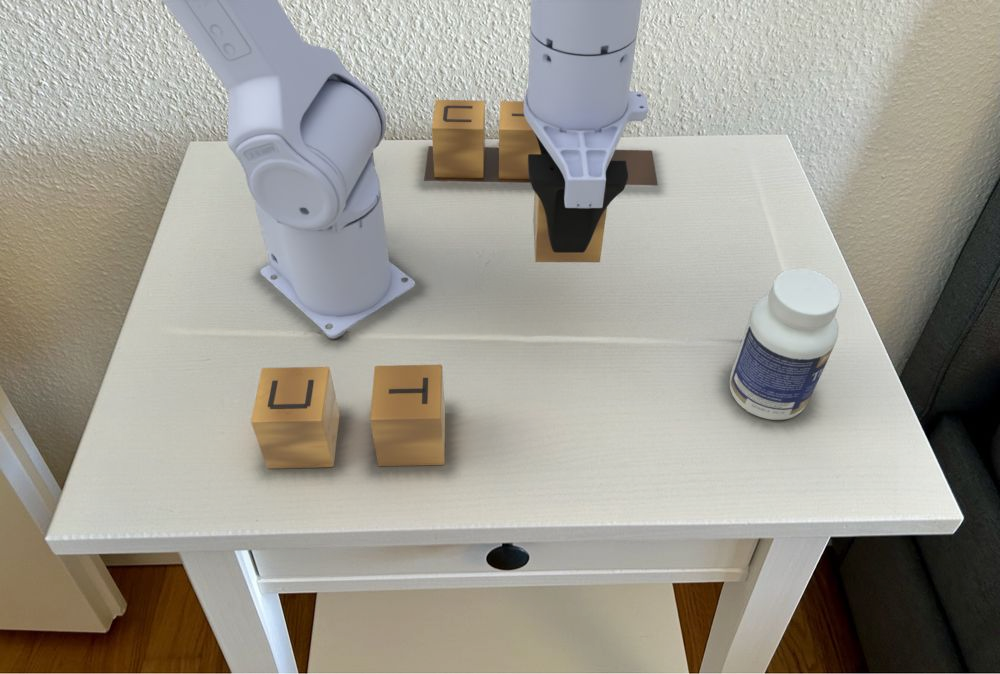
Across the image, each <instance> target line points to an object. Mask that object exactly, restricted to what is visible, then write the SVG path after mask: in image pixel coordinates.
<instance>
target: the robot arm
mask: <svg viewBox="0 0 1000 674" xmlns="http://www.w3.org/2000/svg"><path fill="white" fill-rule="evenodd" d="M162 2H163V3H164V4H165V6H166V7H167V8H168V10H169V11H170V13H171V14H172V16H173V17H174V18H175V20H176V21H177V23H178V24H179V25H180V27H181V28H182V30H183V31H184V33H185V34H186V35H187V37H188V38H189V39H190V40H191V42H192V43H193V45H194V46H195V48H196V49H197V51H198V52H199V53H200V55H201V56H202V57H203V59H204V60H205V62H206V63H207V64H208V65H209V68H211V70H212V71H213V72H214V74H215V75H216V77H217V78H218V79H219V81H220V82H221V84H222V85H223V87H224V88H225V89H226V91H227V96H228V97H227V99H228V105H227V106H228V108H227V109H228V110H227V111H228V112H227V145H228V148H229V149H230V151H231V152H232V153H233V155H234V156H235V157H236V160H238V162H239V163H240V165H241V167H242V169H243V171H244V172H243V173H244V174H245V178H246V184H247V188H248V190H249V192H250V194H251V197H253V199H254V208H255V213H256V216H257V220H258V224H259V228H260V231H261V235H262V240H263V243H264V247H265V251H266V254H267V258H268V262H269V264H268V265H266V266H264V267H262V268H261V269H260V275H262V276H263V277H264V278H265V279H266V280H267V281H268V282H270V283H271V284H272V285H273V287H275V288H276V289H277V290H278V291H279V292H280V293H281V294H282V295H284V296H285V297H286V298H287V299H288V300H289V301H290V302H292V304H294V305H295V306H296V308H298V309H299V310H300V311H301V312H302V313H304V314H305V315H306V317H308V318H309V319H310V320H311V321H312V322H314V324H316V325H317V326H318V327H319V328H320V329H321V330H320V331H321V332H322V333H323V334H324V335H325V336H326V337H327V338H329V339H337V338H340V337H341V336H342V335H344V334H346V333H347V332H348V330H347V329H349V328H350V327H352V326H353V325H355V324H357V323H358V322H360V321H361V320H363V319H365V318H366V317H368V316H370V315H371V314H372V313H373V314H374V312H376V311H378V310H379V309H381V308H382V307H384V306H385V305H387V304H388V303H390V302H392V301H394V300H395V299H397V298H398V297H400V296H401V295H403V294H405V293H406V292H408V291H410V290H411V289H413V288H414V287H415V286H416V281H415V280H414V279H412V278H411V277H410V276H409V275H407V274H406V273H405V272H404V271H403V270H401V269H400V268H399V267H398V266H396V265H395V264H394V263H392V262H391V261H390V258H389V247H388V241H387V240H388V239H387V232H386V223H385V217H384V207H383V198H382V191H381V183H380V179H379V178H380V177H379V175H378V172H377V170H376V165H375V158H374V157H375V156H374V151H375V149H376V148H378V147H379V145H380V144H381V142H382V141H383V139H384V137H385V135H386V132H387V131H386V130H387V116H386V112H385V110H384V107H383V105H382V103H381V101H380V100H379V98H378V97H377V95H375V93H374V92H373V90H371V89H370V88H369V87H368V86H366V85H365V84H364V83H363V82H361V81H360V80H358V79H357V78H356V77H355V76H354V75H353V74H352V73H350V72H349V70H348V68H346V66H345V65H344V63H343V62H342V60H341V59H340V57H339V55H338V54H337V52H336V51H334V50H332V49H329V48H326V47H323V46H318V45H314V44H310V43H307V42H305V41H304V40H303V38H302V36H300V34H299V32H298V31H297V29H296V28H295V26H294V24H293V23H292V21H291V20H290V18H289V16H288V15H287V13H286V12H285V10H284V9H283V7H282V5H281V4H280V2H279V0H162ZM642 3H643V0H530V20H529V21H530V23H529V42H528V43H529V45H528V46H529V49H528V72H527V73H528V74H527V75H528V76H527V90H526V92H525V94H524V98H523V101H524V116H525V118H526V120H527V122H528V124H529V125H530V127H531V128H532V129H533V131H534V133H535V135H536V138H537V140H538V144H539V147H540V151H541V154H529V155H528V172H529V180H530V183H529V184H530V185H531V188H532V190H533V191H534V193H536V194H537V195H538V197H539V198H540V200H541V202H542V205H543V207H544V210H545V214H546V219H547V226H548V233H549V239H550V243H551V247H552V250H553V252H555V253H583V252H585V250H586V249H587V247H588V245H589V243H590V241H591V238H592V236H593V234H594V231H595V229H596V226H597V224H598V222H599V220H600V218H601V216H602V214H603V212H604V211H605V209H606V208H607V209H608V206H609V205H610V204H611V203H612V202H613V200H614V199H615V198H616V197H617V196H619V195H620V194H621V193H622V192H623V191H624V190H625V188H626V186H627V185H626V183H627V180H628V171H627V165H626V161H611V158H612V156H613V154H614V152H615V150H617V147H618V145H619V142H620V140H621V138H622V136H623V134H624V132H625V130H626V128H627V125H628V124H629V123H631V122H641V121H645V120H646V119H647V118H648V112H649V111H648V110H649V105H648V100H647V95H645V93H643V92H642V91H631V81H632V77H633V76H632V74H633V68H634V60H635V53H636V44H637V39H638V31H639V24H640V19H641V11H642ZM273 276H276V277H277V278H275V279H273V278H272V277H273ZM403 279H407V281H405V282H404V281H402V280H403ZM328 325H331V326H332V327H331V328H327V326H328Z"/></svg>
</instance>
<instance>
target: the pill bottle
mask: <svg viewBox="0 0 1000 674" xmlns="http://www.w3.org/2000/svg"><path fill="white" fill-rule="evenodd" d="M841 298H842V297H841V292H840V289H839V287H838V286H837V285H836V284H835V282H834V281H832V279H831V278H829V277H828V276H826V275H825V274H823V273H821V272H819V271H816V270H813V269H809V268H802V267H801V268H798V267H797V268H790V269H786V270H784V271H782V272H780V273H779V274H778V275H777V276H776V277H775V279H774V280H773V283H772V285H771V288H770V289H769V292H768V293H766V294H765V295H763V296H761V297H760V298H759V299H758V300H757V301H756V302H755V304H754V306H753V307H752V309H751V311H750V314H749V317H748V320H747V324H746V326H745V330H744V332H743V336H742V339H741V342H740V345H739V348H738V350H737V353H736V357H735V359H734V363H733V365H732V367H731V368H732V369H731V372H730V377H729V389H730V392H731V395H732V397H733V399H734V400H735V402H736V403H737V404H738V405H739V406H740V407H741V408H743V409H744V410H745V411H746V412H748V413H750V414H752V415H753V416H756V417H759V418H762V419H767V420H772V421H778V420H779V421H780V420H781V421H783V420H788V419H792V418H794V417H796V416H797V415H799V414H800V413H801V412H803V410H805V409H806V406H807V405H808V404H809V401H810V399H811V397H812V395H813V393H814V391H815V389H816V386H817V384H818V382H819V380H820V379H821V375H822V374H823V372H824V369H825V367H826V365H827V363H828V361H829V359H830V356H831V354H832V352H833V350H834V348H835V345H836V343H837V341H838V337H839V332H840V329H839V327H840V326H839V322H838V319H837V317H836V314H837V313H838V310H839V306H840V303H841Z"/></svg>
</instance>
